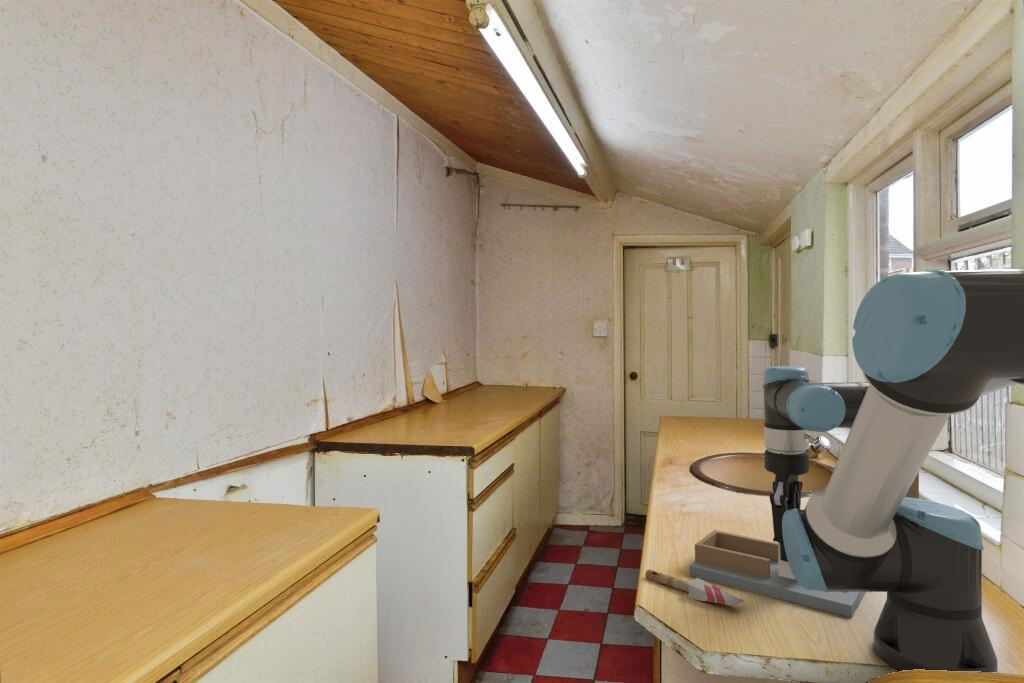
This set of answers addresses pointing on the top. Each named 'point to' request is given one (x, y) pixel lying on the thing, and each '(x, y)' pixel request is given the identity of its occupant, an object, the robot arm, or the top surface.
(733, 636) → the top surface
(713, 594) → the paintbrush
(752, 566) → the slate deck with cubby
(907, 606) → the robot arm
